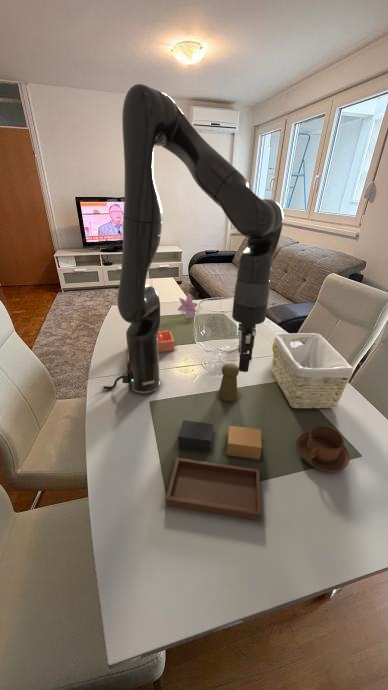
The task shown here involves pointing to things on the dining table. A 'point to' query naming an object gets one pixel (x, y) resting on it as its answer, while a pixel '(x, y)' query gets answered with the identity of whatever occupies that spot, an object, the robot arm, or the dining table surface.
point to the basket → (309, 370)
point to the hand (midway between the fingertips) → (243, 361)
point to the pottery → (165, 341)
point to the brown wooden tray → (215, 489)
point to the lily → (187, 306)
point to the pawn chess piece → (229, 382)
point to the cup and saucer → (323, 449)
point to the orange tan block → (244, 442)
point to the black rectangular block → (196, 436)
